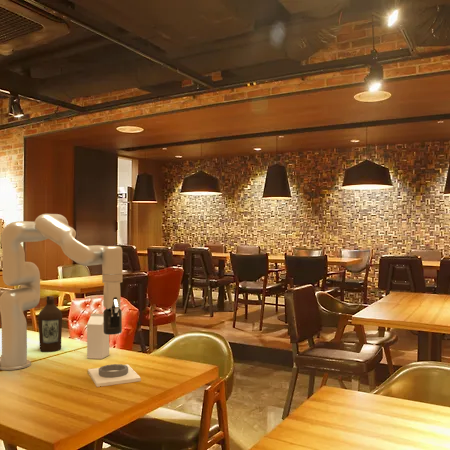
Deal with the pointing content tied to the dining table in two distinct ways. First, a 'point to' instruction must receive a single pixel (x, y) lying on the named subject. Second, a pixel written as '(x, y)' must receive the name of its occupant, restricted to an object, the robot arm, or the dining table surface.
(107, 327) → the supplement bottle
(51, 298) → the olive oil
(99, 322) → the milk carton
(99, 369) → the dock
